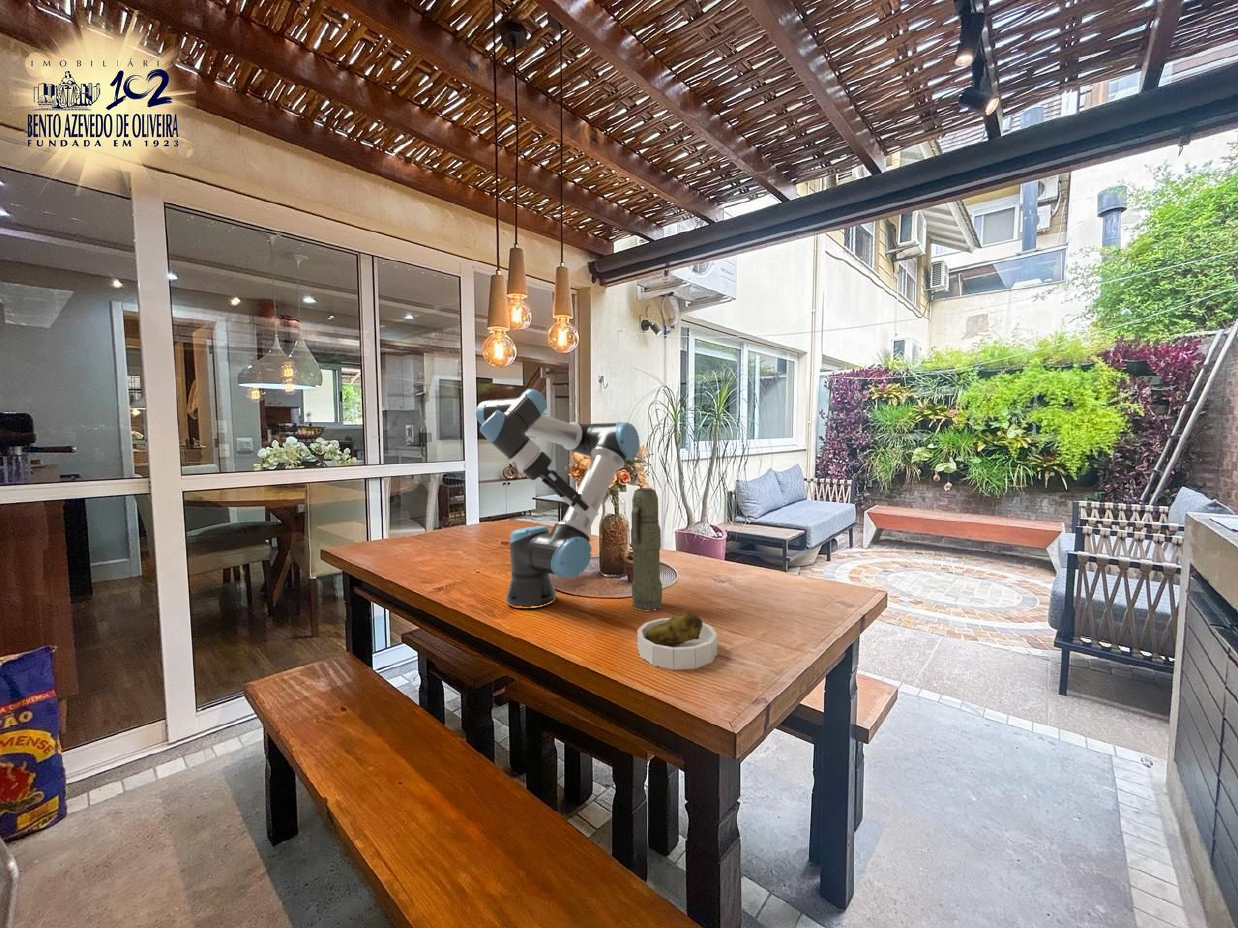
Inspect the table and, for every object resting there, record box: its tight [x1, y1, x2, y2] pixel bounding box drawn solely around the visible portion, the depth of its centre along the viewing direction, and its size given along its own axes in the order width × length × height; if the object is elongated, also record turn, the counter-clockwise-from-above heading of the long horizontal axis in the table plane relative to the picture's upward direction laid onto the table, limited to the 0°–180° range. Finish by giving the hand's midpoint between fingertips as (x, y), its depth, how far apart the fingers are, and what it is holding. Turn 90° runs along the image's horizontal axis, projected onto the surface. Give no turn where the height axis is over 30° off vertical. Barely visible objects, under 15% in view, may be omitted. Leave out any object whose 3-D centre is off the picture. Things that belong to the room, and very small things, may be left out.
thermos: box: [630, 487, 663, 611], centre depth 144 cm, size 9×12×35 cm
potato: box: [646, 611, 703, 646], centre depth 114 cm, size 8×13×8 cm, turn 70°
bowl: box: [636, 617, 718, 671], centre depth 114 cm, size 18×18×4 cm
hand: (588, 513), depth 133 cm, fingers open, 13 cm apart
